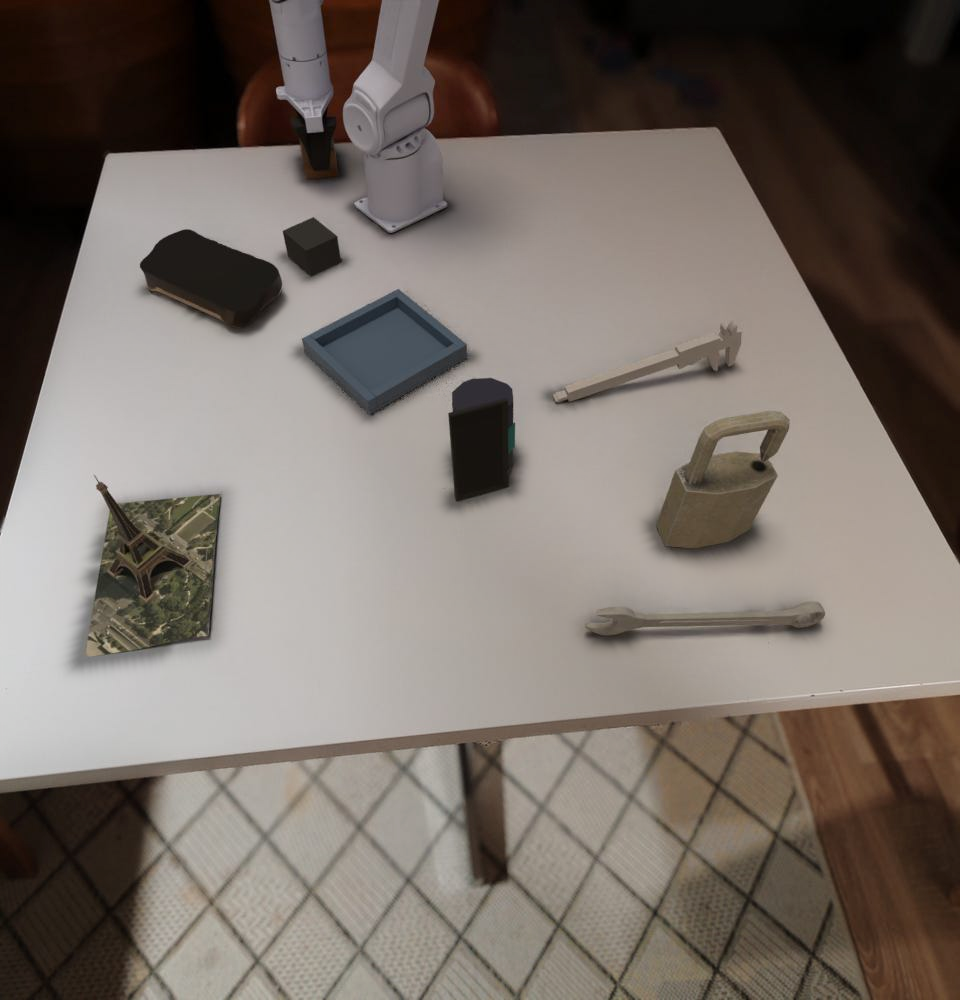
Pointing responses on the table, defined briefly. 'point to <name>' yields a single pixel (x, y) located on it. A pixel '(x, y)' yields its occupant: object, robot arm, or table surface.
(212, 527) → the eiffel tower figurine
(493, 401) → the speaker
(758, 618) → the combination wrench
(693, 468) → the padlock
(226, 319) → the black sponge
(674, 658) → the table surface
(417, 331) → the holder
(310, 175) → the walnut block
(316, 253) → the black block
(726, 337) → the caliper
